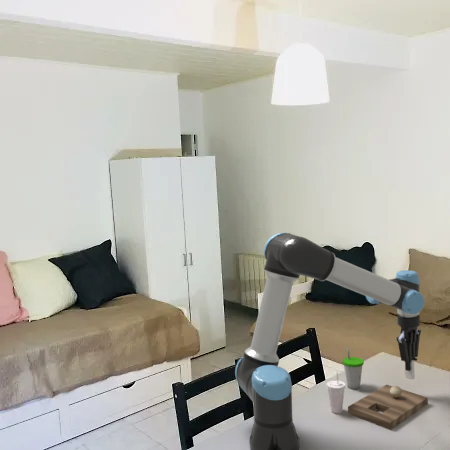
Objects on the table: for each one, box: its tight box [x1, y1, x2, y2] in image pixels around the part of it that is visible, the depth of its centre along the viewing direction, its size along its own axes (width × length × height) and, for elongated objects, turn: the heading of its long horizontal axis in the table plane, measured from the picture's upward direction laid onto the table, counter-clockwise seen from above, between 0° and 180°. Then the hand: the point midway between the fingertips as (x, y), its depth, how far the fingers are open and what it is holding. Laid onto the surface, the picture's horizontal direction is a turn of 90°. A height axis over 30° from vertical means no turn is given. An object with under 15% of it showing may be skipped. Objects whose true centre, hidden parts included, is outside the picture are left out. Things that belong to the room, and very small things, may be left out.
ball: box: [390, 385, 403, 398], centre depth 180 cm, size 4×4×4 cm
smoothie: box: [325, 371, 346, 415], centre depth 177 cm, size 6×6×14 cm
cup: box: [342, 345, 364, 390], centre depth 196 cm, size 8×8×15 cm
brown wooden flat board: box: [347, 384, 429, 431], centre depth 177 cm, size 24×16×2 cm, turn 131°
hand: (410, 378), depth 186 cm, fingers closed
